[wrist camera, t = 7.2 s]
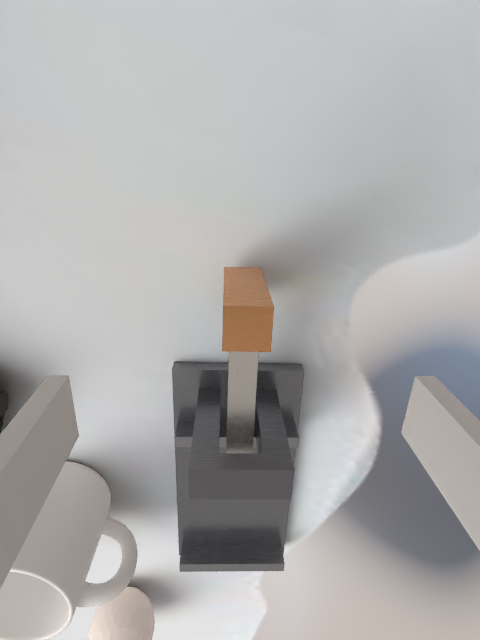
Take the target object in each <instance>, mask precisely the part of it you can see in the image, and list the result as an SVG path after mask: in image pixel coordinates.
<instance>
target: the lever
mask: <svg viewBox="0 0 480 640" xmlns="http://www.w3.org/2000/svg"><path fill="white" fill-rule="evenodd" d="M273 312H274V306H273V303H272V300H271V297H270V294H269V291H268V288H267V285H266V282H265V279H264V276H263V273H262V270H261V268H241V267H224V295H223V341H222V351H229V357H228V396H227V434H226V453H253V437H254V420H255V403H256V387H257V370H258V353H259V352H271V340H272V326H273Z"/></svg>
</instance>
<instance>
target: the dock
mask: <svg viewBox="0 0 480 640" xmlns="http://www.w3.org/2000/svg"><path fill="white" fill-rule="evenodd" d="M303 377H304V370H303V367H302V364H263V363H258V370H257V387H256V403H255V420H254V437H253V453H226V434H227V396H228V363H199V362H174V365H173V368H172V378H173V404H174V430H175V455H176V481H177V507H178V533H179V555H181V557H180V572H192V571H283V570H284V558H283V553H284V544H285V535H286V527H287V518H288V509H289V500H290V499H291V495H292V486H293V477H294V466H293V465H294V456H295V448H298V442H299V436H298V432H297V430H298V421H299V412H300V403H301V394H302V386H303Z"/></svg>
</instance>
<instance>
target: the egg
mask: <svg viewBox="0 0 480 640" xmlns="http://www.w3.org/2000/svg"><path fill="white" fill-rule="evenodd" d="M154 622H155V621H154V611H153V607H152V605H151V602H150V600H149V598H148V597H147V596H146V595H145V594H144V593H143V592H142V591H141V590H139V589H138V588H135V587H126V588H125V589H124V590H123V591H122V592H121V593H120V594H119V595H118V596H117V597H116V598H115V599H113V600H111V601H110V602H108V603H106V604H103V605H100V606H99V607H98V609H97V611H96V612H95V614H94V617H93V619H92V623H91V626H90V630H89V636H88V640H152V637H153V632H154Z"/></svg>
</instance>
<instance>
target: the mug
mask: <svg viewBox="0 0 480 640" xmlns="http://www.w3.org/2000/svg"><path fill="white" fill-rule="evenodd" d="M110 504H111V493H110V489H109V487H108V485H107V483H106V481H105V480H104V479H103V478H102V477H101V476H100V475H99V474H98V473H97V472H96V471H94V470H93V469H91V468H89V467H87V466H85V465H82V464H79V463H75V462H68V461H66V462H65V464H64V466H63V468H62V470H61V472H60V474H59V475H58V477H57V479H56V481H55V483H54V485H53V487H52V489H51V491H50V493H49V495H48V497H47V499H46V501H45V503H44V505H43V507H42V509H41V511H40V513H39V515H38V517H37V519H36V520H35V522H34V524H33V526H32V528H31V530H30V532H29V534H28V536H27V538H26V540H25V542H24V544H23V546H22V548H21V550H20V552H19V554H18V556H17V558H16V560H15V562H14V563H13V565H12V567H11V569H10V571H9V573H8V575H7V577H6V579H5V581H4V583H3V585H2V587H1V589H0V640H47V639H50V638H52V637H54V636H56V635H58V634H60V633H61V632H62V631H63V630H65V628H66V627H67V626H68V625H69V623H70V622H71V620H72V617H73V615H74V612H75V609H76V607H95V606H100V605H103V604H106V603H108V602H110V601H111V600H113V599H115V598H116V597H117V596H118V595H119V594H120V593H121V592H122V591H123V590H124V589H125V588H126V587H127V585H128V584H129V582H130V581H131V579H132V576H133V574H134V571H135V568H136V563H137V545H136V541H135V538H134V536H133V534H132V533H131V531H130V530H129V529H128V528H127V527H126V526H125V525H124V524H123V523H121V522H120V521H118V520H116V519H113V518H111V517H108V516H107V515H108V512H109V509H110ZM101 534H104V535H107V536H110V537H112V538H114V539H115V540H116V541H118V543H119V544H120V546H121V549H122V562H121V565H120V568H119V570H118V572H117V573H116V575H115V576H114V577H113V578H111V579H110V580H109V581H107V582H104V583H100V584H93V583H88V582H86V581H85V579H86V577H87V574H88V571H89V568H90V565H91V562H92V560H93V557H94V554H95V551H96V548H97V545H98V542H99V539H100V536H101Z"/></svg>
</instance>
